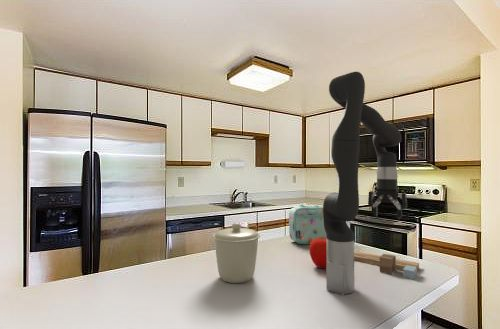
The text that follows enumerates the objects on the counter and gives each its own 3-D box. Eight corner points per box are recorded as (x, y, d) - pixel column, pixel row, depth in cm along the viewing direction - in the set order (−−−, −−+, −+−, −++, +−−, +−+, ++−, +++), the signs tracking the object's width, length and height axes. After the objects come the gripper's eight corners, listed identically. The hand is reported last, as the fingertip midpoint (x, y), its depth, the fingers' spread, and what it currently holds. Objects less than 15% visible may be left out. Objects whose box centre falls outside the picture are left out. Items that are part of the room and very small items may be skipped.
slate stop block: (413, 279, 103) (413, 271, 103) (403, 276, 105) (403, 269, 105) (416, 274, 107) (416, 267, 107) (406, 272, 110) (406, 264, 110)
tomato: (333, 263, 121) (333, 234, 121) (339, 272, 110) (339, 240, 110) (307, 262, 122) (307, 233, 122) (310, 271, 111) (310, 240, 111)
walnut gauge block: (391, 274, 108) (391, 259, 108) (379, 271, 111) (379, 256, 111) (395, 270, 112) (395, 255, 112) (384, 267, 115) (383, 253, 115)
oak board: (415, 273, 109) (415, 268, 109) (350, 259, 126) (350, 254, 126) (419, 267, 115) (418, 262, 115) (356, 255, 132) (356, 250, 132)
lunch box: (293, 246, 148) (293, 206, 148) (286, 241, 158) (286, 204, 158) (337, 242, 154) (337, 204, 154) (328, 238, 164) (327, 202, 164)
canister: (255, 290, 94) (255, 228, 95) (205, 285, 98) (205, 226, 98) (263, 270, 112) (263, 219, 112) (221, 267, 116) (221, 217, 116)
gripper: (365, 177, 114) (366, 216, 114) (404, 178, 105) (404, 221, 104) (371, 177, 120) (371, 214, 119) (408, 178, 110) (408, 218, 110)
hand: (387, 217), depth 112 cm, fingers open, 8 cm apart
